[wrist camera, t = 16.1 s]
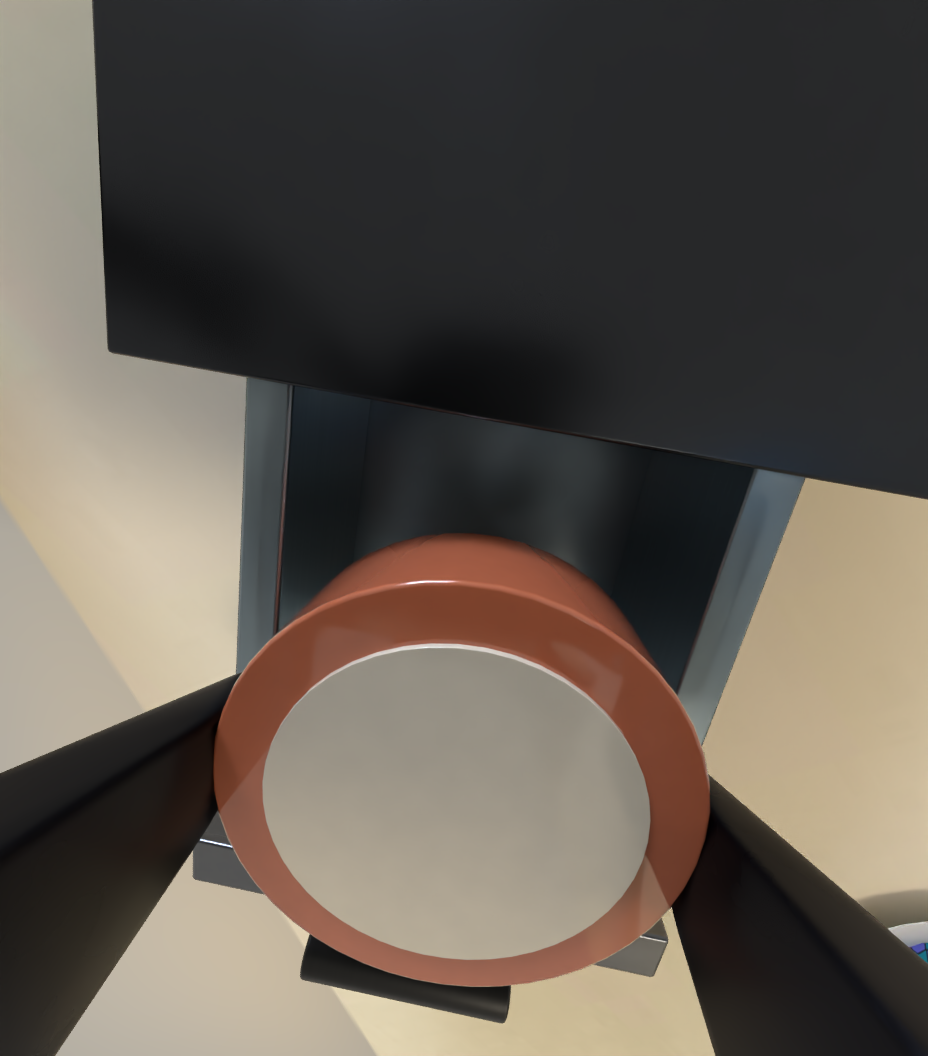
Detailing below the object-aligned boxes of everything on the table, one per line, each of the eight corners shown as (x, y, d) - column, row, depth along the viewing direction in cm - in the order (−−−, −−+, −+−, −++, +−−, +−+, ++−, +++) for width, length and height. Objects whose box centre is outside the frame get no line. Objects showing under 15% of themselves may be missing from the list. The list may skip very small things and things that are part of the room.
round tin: (284, 796, 9) (202, 943, 7) (308, 493, 8) (208, 534, 5) (593, 860, 9) (632, 1038, 7) (693, 565, 7) (800, 647, 5)
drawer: (557, 888, 16) (589, 1133, 11) (293, 833, 17) (190, 1044, 11) (735, 317, 11) (978, 216, 5) (343, 251, 11) (195, 90, 6)
